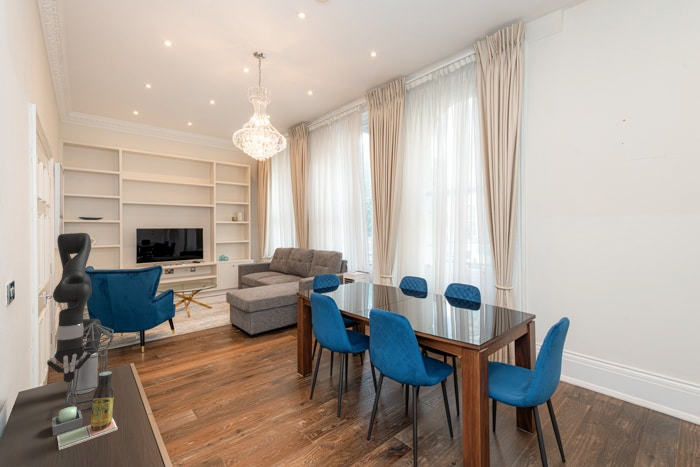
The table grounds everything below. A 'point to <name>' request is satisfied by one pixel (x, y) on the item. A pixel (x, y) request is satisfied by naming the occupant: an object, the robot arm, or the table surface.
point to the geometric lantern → (106, 332)
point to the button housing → (66, 424)
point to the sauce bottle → (102, 402)
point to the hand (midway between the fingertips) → (68, 381)
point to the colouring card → (83, 435)
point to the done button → (67, 414)
